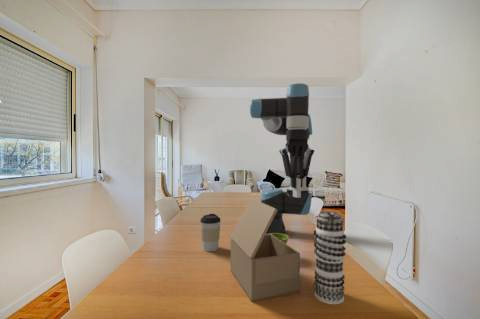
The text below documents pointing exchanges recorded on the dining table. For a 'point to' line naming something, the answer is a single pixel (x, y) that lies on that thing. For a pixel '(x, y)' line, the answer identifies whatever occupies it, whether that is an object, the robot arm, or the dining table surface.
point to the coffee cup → (210, 232)
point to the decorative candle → (329, 258)
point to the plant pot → (281, 237)
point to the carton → (267, 269)
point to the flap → (253, 226)
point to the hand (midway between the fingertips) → (296, 196)
